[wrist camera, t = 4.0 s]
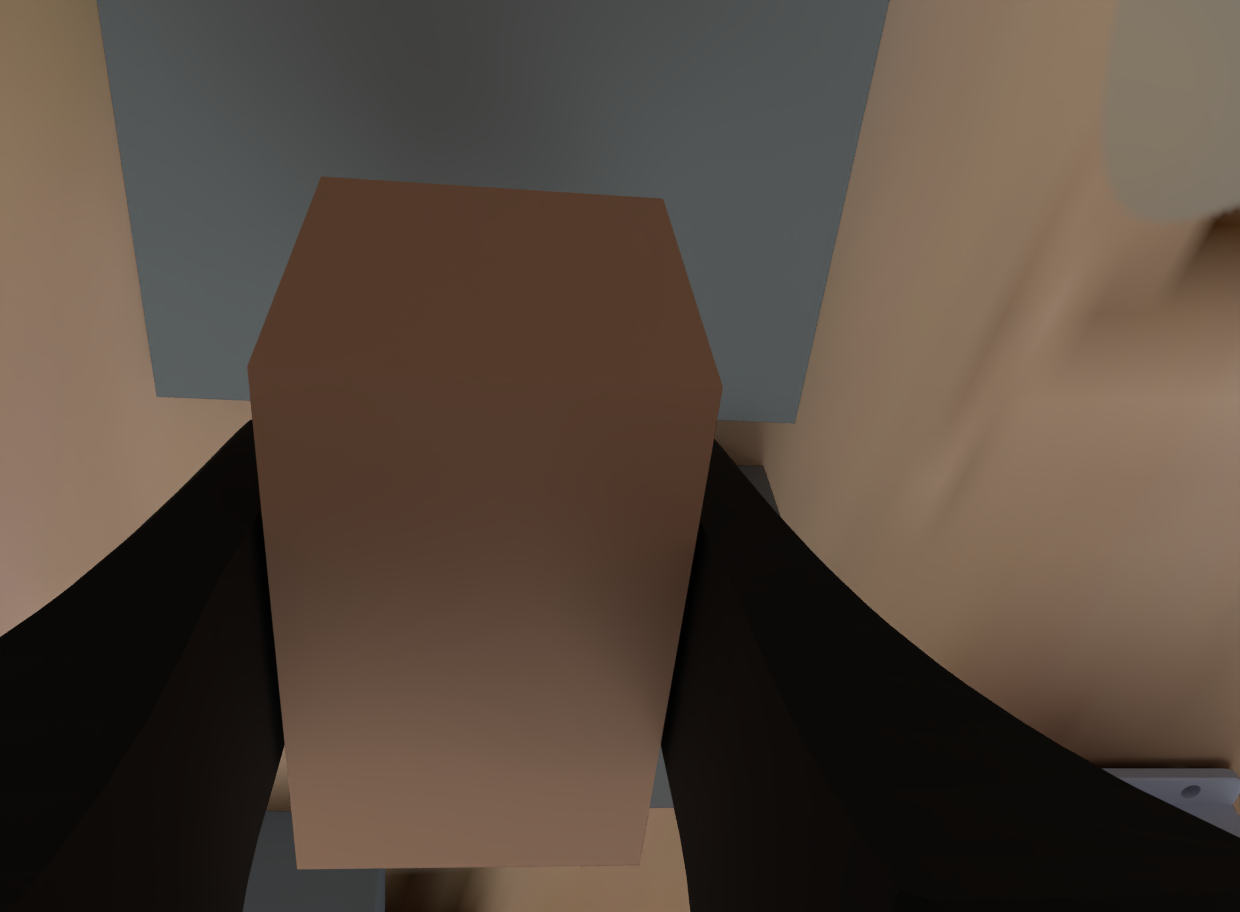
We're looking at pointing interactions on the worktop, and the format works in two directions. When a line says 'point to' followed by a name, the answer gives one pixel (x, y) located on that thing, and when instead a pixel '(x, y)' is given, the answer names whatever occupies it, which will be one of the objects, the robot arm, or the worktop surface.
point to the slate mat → (490, 147)
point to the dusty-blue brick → (305, 878)
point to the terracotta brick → (478, 519)
